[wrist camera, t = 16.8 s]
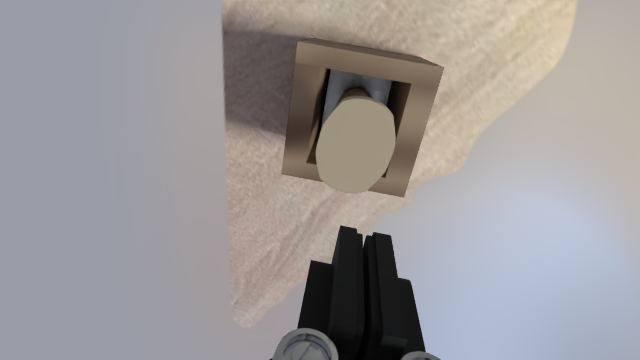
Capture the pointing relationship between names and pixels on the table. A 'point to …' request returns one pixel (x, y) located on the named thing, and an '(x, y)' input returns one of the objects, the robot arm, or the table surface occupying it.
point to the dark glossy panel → (347, 80)
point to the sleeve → (405, 104)
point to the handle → (355, 142)
